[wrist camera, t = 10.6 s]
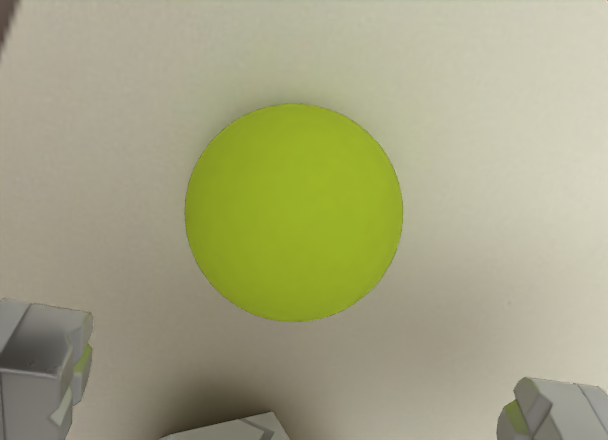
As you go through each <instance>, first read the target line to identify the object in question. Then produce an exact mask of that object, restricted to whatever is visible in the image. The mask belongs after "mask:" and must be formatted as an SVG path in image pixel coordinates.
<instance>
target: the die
mask: <svg viewBox="0 0 608 440" xmlns="http://www.w3.org/2000/svg"><path fill="white" fill-rule="evenodd" d="M159 440H290V439H289V437H288V435H287V434H286V432H285V430H284V429H283V427H282V425H281V424H280V422H279V420H278V419H277V417H276V415H275V414H274V412H268V413H264V414H259V415H255V416H250V417H246V418H242V419H237V420H233V421H228V422H224V423H219V424H215V425H210V426H206V427H201V428H197V429H192V430H188V431H183V432H179V433H174V434H170V435H168V436H166V437H163V438H161V439H159Z"/></svg>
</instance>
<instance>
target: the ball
mask: <svg viewBox="0 0 608 440" xmlns="http://www.w3.org/2000/svg"><path fill="white" fill-rule="evenodd" d="M402 223H403V201H402V196H401V190H400V186H399V182H398V179H397V176H396V173H395V170H394V168H393V166H392V165H391V163H390V161H389V159H388V157H387V155H386V153H385V152H384V151H383V149H382V148H381V147H380V145H379V144H378V142H377V141H376V140H375V139H374V138H373V137H372V136H371V135H370V134H369V133H368V132H367V131H365V130H364V129H363V128H362V127H360V126H359V125H358V124H357V123H355V122H354V121H352V120H350V119H349V118H347V117H345V116H344V115H342V114H339V113H337V112H334V111H332V110H329V109H326V108H322V107H318V106H313V105H306V104H282V105H274V106H270V107H266V108H262V109H258V110H256V111H253V112H251V113H248V114H246V115H244V116H242V117H241V118H239V119H237V120H235V121H234V122H232V123H231V124H230V125H228V126H227V127H226V128H224V129H223V130H222V131H221V132H220V133H219V134H218V135H217V136H216V137H215V138H214V139H213V140H212V141H211V142H210V143H209V145H208V146H207V147H206V149H205V150H204V151H203V153H202V154H201V156H200V158H199V160H198V162H197V163H196V165H195V167H194V170H193V172H192V175H191V178H190V180H189V184H188V189H187V193H186V199H185V224H186V234H187V237H188V241H189V245H190V248H191V250H192V253H193V255H194V258H195V260H196V263H197V264H198V266H199V268H200V269H201V271H202V273H203V274H204V275H205V277H206V278H207V279H208V281H209V282H210V283H211V284H212V286H213V287H214V288H215V289H216V290H217V291H218V292H219V293H220V294H221V295H222V296H224V297H225V298H226V299H228V300H229V301H230V302H232V303H233V304H235V305H236V306H238V307H240V308H241V309H243V310H245V311H247V312H249V313H252V314H254V315H257V316H260V317H263V318H266V319H271V320H276V321H285V322H302V321H311V320H316V319H321V318H325V317H328V316H331V315H334V314H336V313H338V312H340V311H343V310H345V309H346V308H348V307H350V306H351V305H353V304H354V303H356V302H357V301H358V300H360V299H361V298H362V297H364V296H365V295H366V294H367V293H368V292H369V291H370V290H371V289H372V288H374V286H375V285H376V284H377V283H378V282H379V280H380V279H381V278H382V276H383V275H384V273H385V272H386V270H387V268H388V267H389V265H390V264H391V262H392V259H393V257H394V255H395V253H396V250H397V246H398V243H399V239H400V236H401V231H402Z"/></svg>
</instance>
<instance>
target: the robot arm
mask: <svg viewBox="0 0 608 440" xmlns="http://www.w3.org/2000/svg"><path fill="white" fill-rule="evenodd" d="M92 332H93V315H92V313H90V312H84V311H78V310H72V309H67V308H61V307H55V306H49V305H43V304H37V303H34V304H33V303H28V302H22V301H16V300H11V299H5V298H4V299H2V300H1V301H0V440H65V438H66V436H67V433H68V431H69V428H70V426H71V424H72V409H73V406H74V405H76V404H77V403H79V402H80V401H81V399H82V396H83V393H84V391H85V388H86V385H87V381H88V377H89V373H90V368H91V362H92V348H91V346H90V345H89V344H88V341H89V339H90V336H91V334H92ZM513 391H514V394H515V398H516V400H514V401H513V402H511V403H509V404H507V405H506V406H504V408H503V410H502V412H501V414H500V416H499V418H498V424H497V440H608V396H607V394H606V392H605V391H603V390H602V389H601V388H600V387H598V386H591V385H584V384H576V383H573V384H571V383H566V382H559V381H552V380H545V379H537V378H530V377H524V378H523V379H521V380H520V381H518V383H517V385H516V387H515V388H514V390H513Z"/></svg>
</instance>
